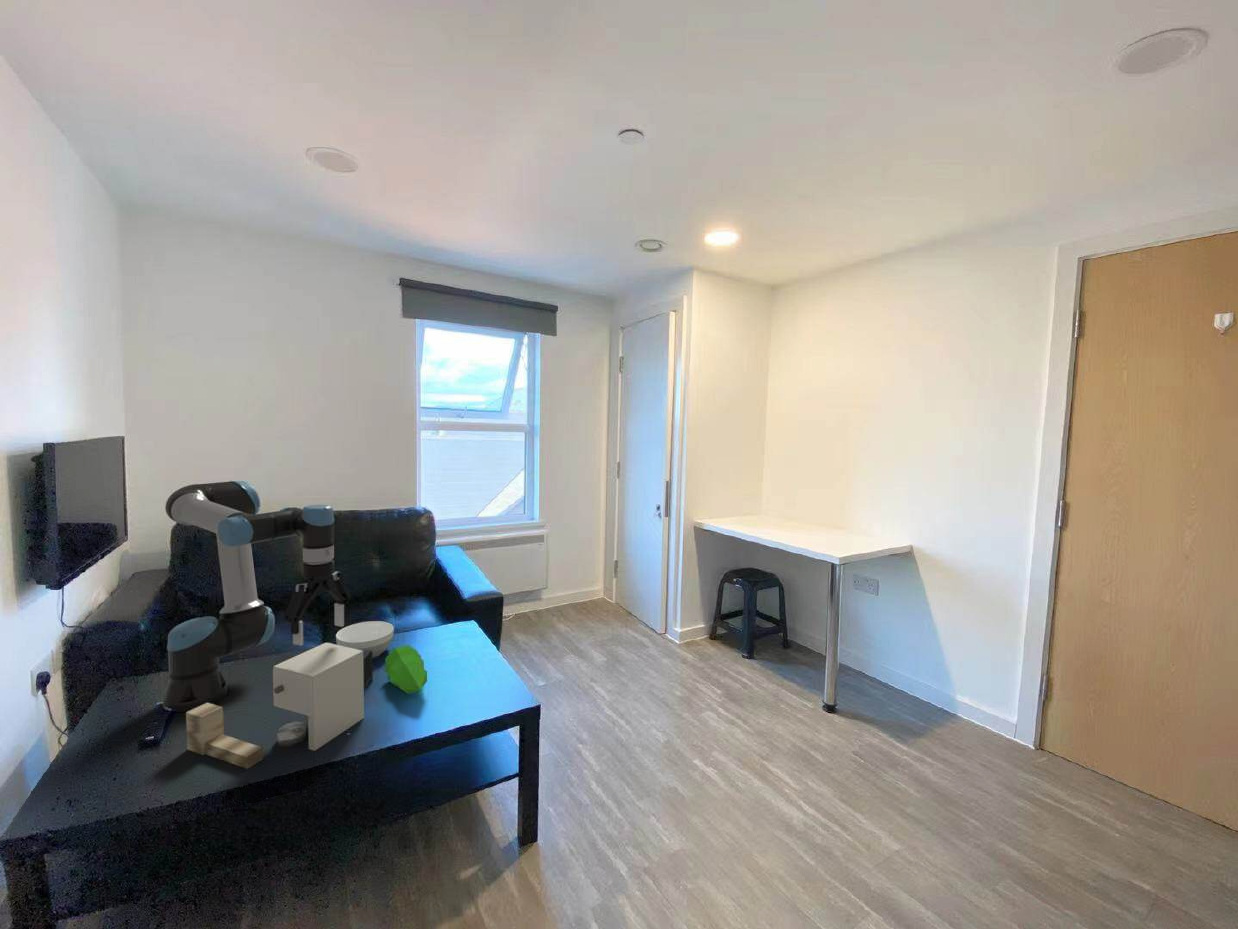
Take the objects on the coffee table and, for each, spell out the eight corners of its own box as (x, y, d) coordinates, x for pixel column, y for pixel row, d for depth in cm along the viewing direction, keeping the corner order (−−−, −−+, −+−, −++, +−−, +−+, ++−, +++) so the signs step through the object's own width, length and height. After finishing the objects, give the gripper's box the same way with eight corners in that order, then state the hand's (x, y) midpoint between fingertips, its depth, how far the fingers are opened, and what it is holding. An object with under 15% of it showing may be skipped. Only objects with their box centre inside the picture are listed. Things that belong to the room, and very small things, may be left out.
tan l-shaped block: (187, 749, 132) (185, 712, 132) (208, 738, 137) (207, 702, 136) (245, 770, 125) (243, 731, 125) (265, 757, 130) (263, 720, 129)
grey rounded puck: (271, 743, 136) (271, 732, 136) (294, 730, 142) (293, 719, 142) (289, 749, 134) (289, 738, 134) (311, 735, 140) (311, 724, 140)
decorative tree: (406, 631, 179) (430, 663, 154) (420, 658, 182) (445, 693, 157) (373, 651, 173) (392, 687, 149) (388, 678, 176) (409, 718, 152)
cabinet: (268, 742, 136) (266, 669, 134) (327, 707, 153) (326, 642, 151) (307, 755, 131) (305, 680, 130) (364, 718, 148) (363, 650, 147)
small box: (373, 679, 170) (373, 649, 169) (364, 690, 163) (364, 658, 163) (341, 679, 170) (340, 648, 169) (330, 689, 163) (330, 657, 162)
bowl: (385, 639, 201) (385, 617, 200) (400, 657, 186) (400, 633, 186) (331, 651, 189) (330, 628, 188) (342, 672, 174) (342, 647, 174)
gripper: (288, 575, 131) (289, 655, 133) (364, 551, 154) (364, 620, 156) (266, 571, 133) (267, 650, 135) (344, 549, 157) (344, 616, 159)
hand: (319, 634), depth 146 cm, fingers open, 13 cm apart
